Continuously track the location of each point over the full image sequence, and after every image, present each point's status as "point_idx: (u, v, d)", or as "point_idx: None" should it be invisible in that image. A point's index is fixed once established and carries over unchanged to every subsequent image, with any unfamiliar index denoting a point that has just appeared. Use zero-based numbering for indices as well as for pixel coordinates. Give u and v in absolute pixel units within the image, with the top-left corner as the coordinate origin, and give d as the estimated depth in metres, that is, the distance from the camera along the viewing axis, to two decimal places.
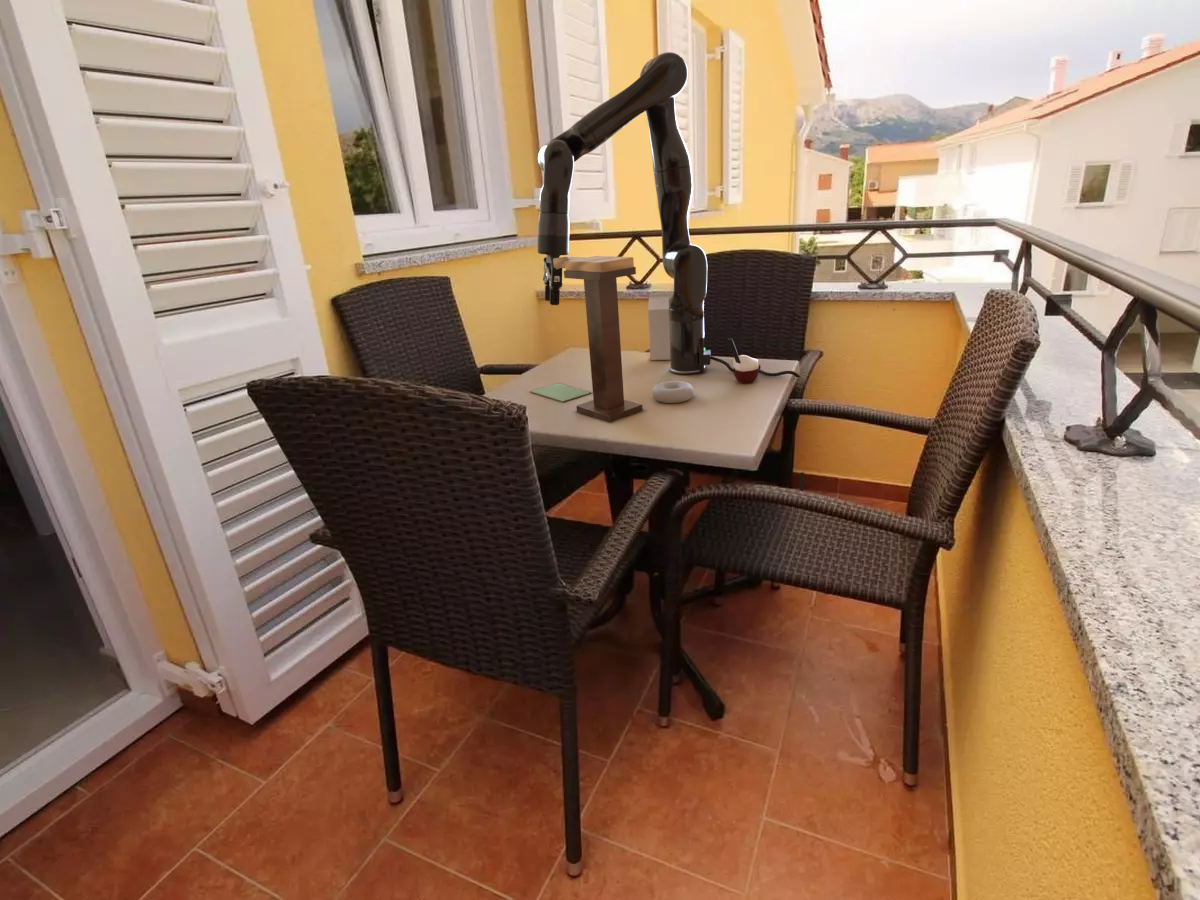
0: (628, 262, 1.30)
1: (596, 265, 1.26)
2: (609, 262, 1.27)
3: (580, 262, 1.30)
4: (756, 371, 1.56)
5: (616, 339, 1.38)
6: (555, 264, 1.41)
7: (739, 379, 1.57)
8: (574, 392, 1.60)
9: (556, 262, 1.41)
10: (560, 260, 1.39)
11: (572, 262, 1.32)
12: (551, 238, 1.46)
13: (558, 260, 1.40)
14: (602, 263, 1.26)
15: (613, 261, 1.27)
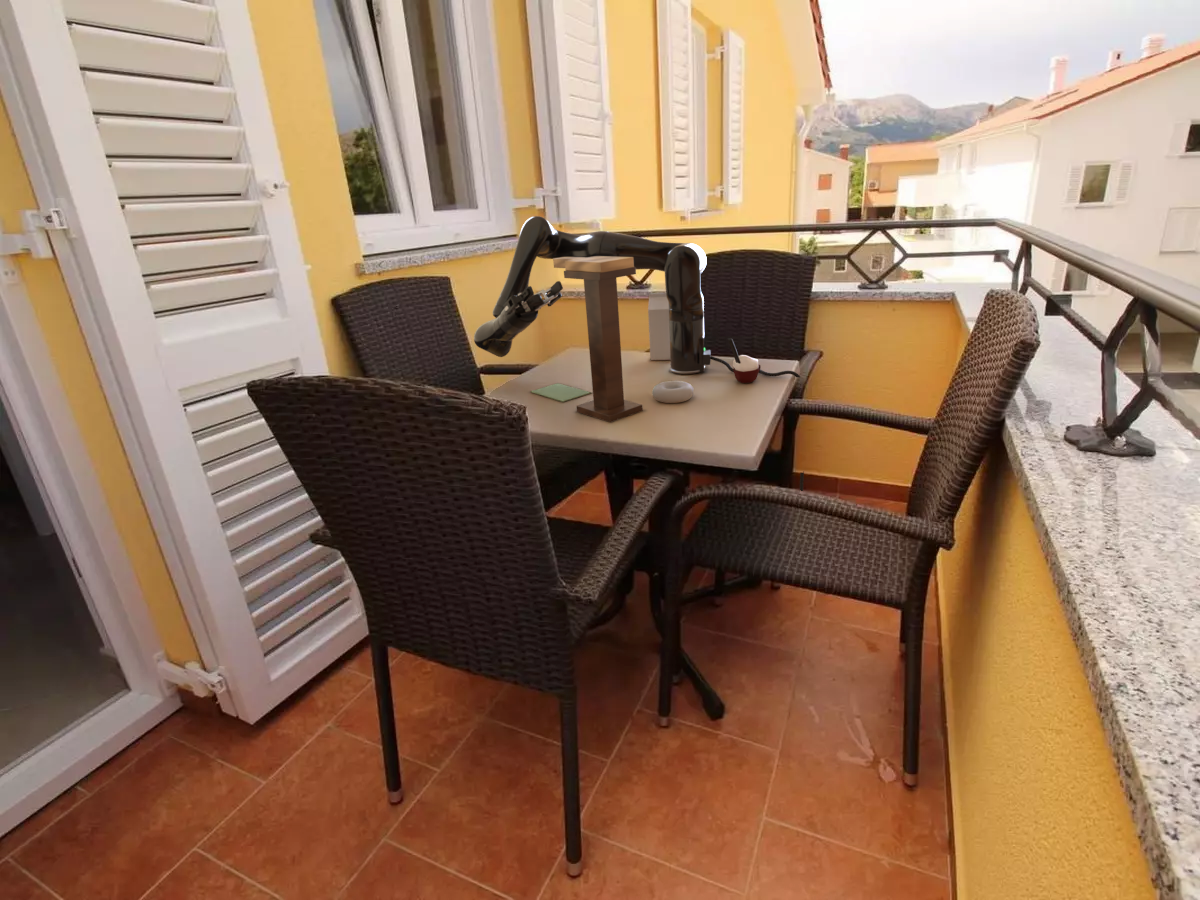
0: (628, 262, 1.30)
1: (596, 265, 1.26)
2: (609, 262, 1.27)
3: (580, 262, 1.30)
4: (756, 371, 1.56)
5: (616, 339, 1.38)
6: (555, 264, 1.41)
7: (739, 379, 1.57)
8: (574, 392, 1.60)
9: (556, 262, 1.41)
10: (560, 260, 1.39)
11: (572, 262, 1.32)
12: (509, 320, 1.60)
13: (558, 260, 1.40)
14: (602, 263, 1.26)
15: (613, 261, 1.27)
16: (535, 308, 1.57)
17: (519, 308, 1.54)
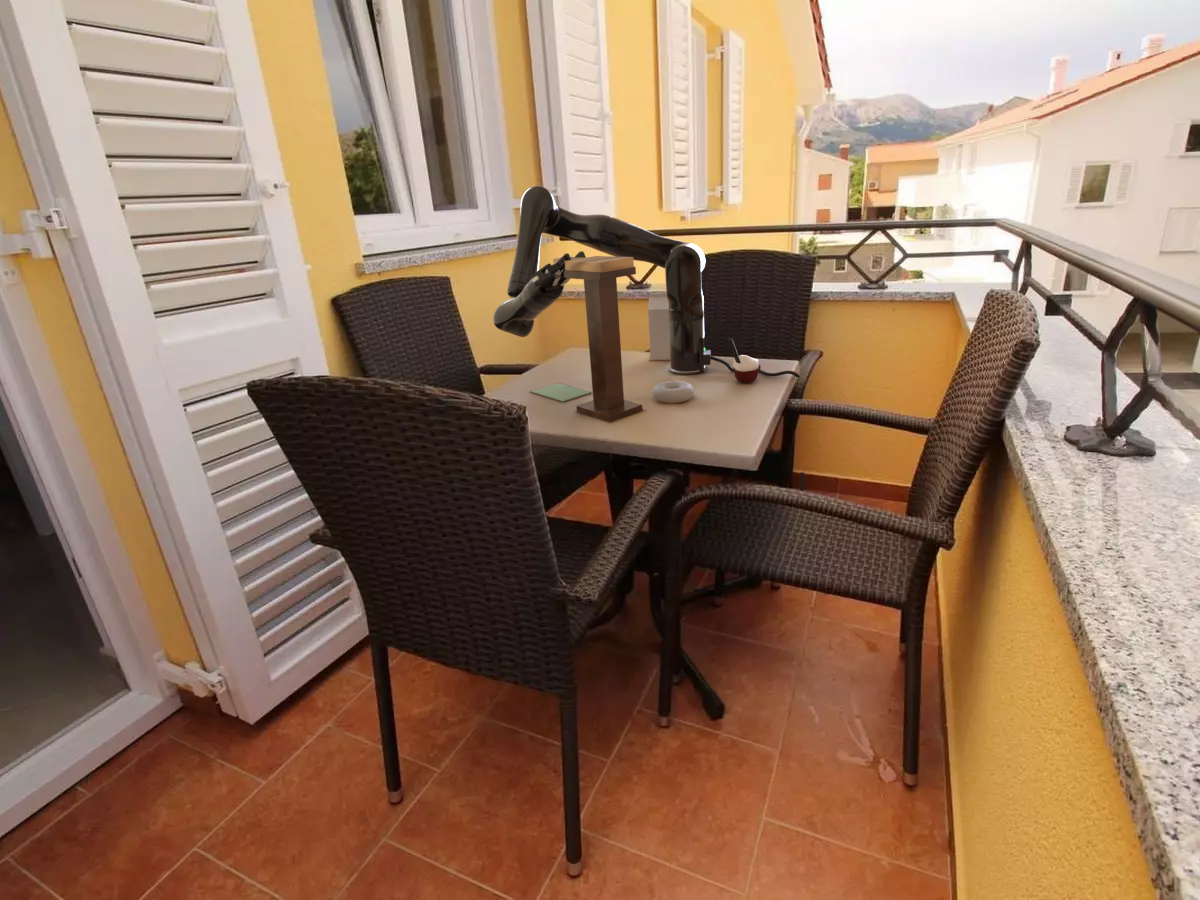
0: (628, 262, 1.30)
1: (596, 265, 1.26)
2: (609, 262, 1.27)
3: (580, 262, 1.30)
4: (756, 371, 1.56)
5: (616, 339, 1.38)
6: None
7: (739, 379, 1.57)
8: (574, 392, 1.60)
9: None
10: None
11: (572, 262, 1.32)
12: (532, 296, 1.49)
13: (558, 260, 1.40)
14: (602, 263, 1.26)
15: (613, 261, 1.27)
16: (561, 282, 1.46)
17: (544, 282, 1.43)
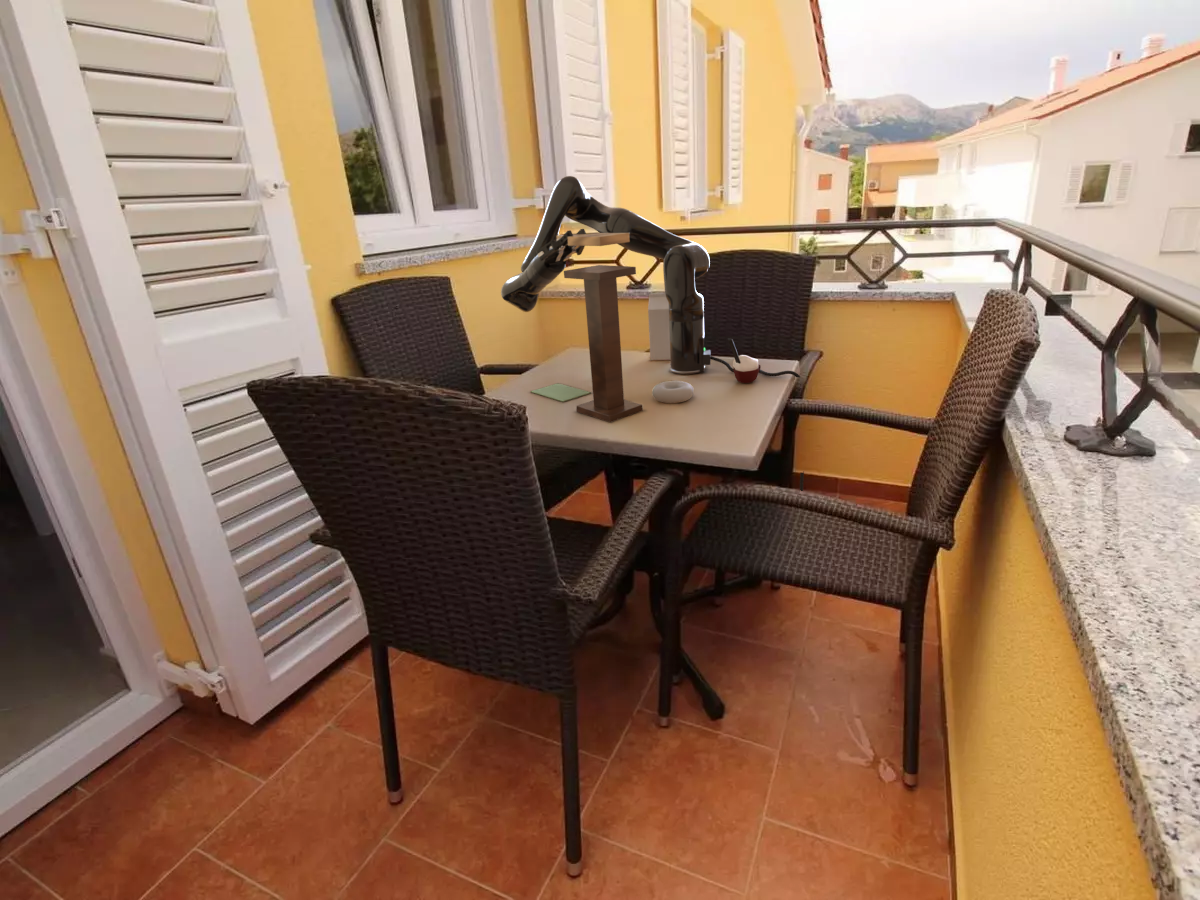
0: (624, 237, 1.45)
1: (596, 239, 1.42)
2: (607, 237, 1.42)
3: (581, 237, 1.45)
4: (756, 371, 1.56)
5: (616, 339, 1.38)
6: None
7: (739, 379, 1.57)
8: (574, 392, 1.60)
9: None
10: None
11: (574, 237, 1.47)
12: (537, 270, 1.64)
13: None
14: (601, 237, 1.41)
15: (611, 236, 1.42)
16: (564, 258, 1.61)
17: (548, 257, 1.58)
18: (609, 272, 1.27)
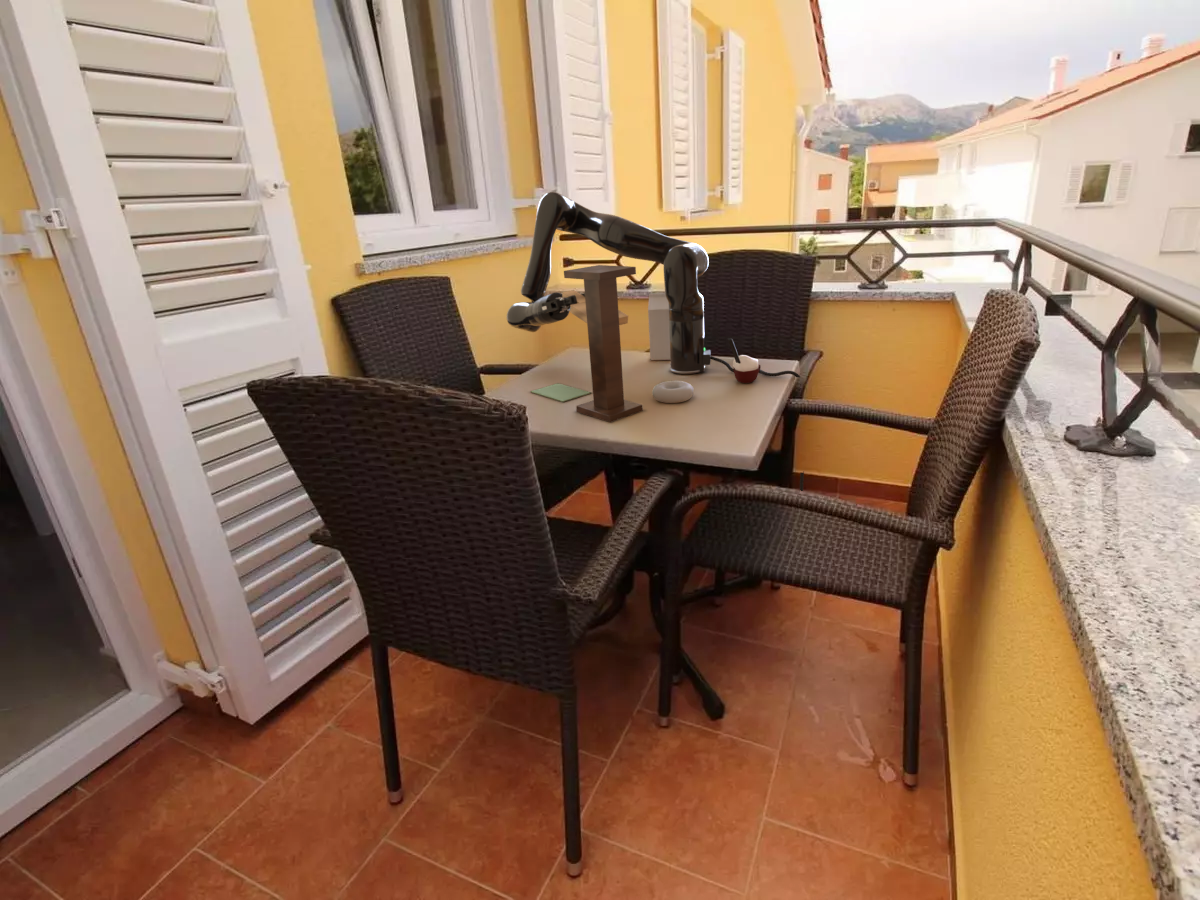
0: (623, 320, 1.51)
1: None
2: None
3: (582, 313, 1.51)
4: (756, 371, 1.56)
5: (616, 339, 1.38)
6: None
7: (739, 379, 1.57)
8: (574, 392, 1.60)
9: (564, 296, 1.61)
10: None
11: (576, 309, 1.53)
12: (541, 314, 1.70)
13: (566, 296, 1.60)
14: None
15: None
16: (567, 309, 1.67)
17: None
18: (609, 272, 1.27)
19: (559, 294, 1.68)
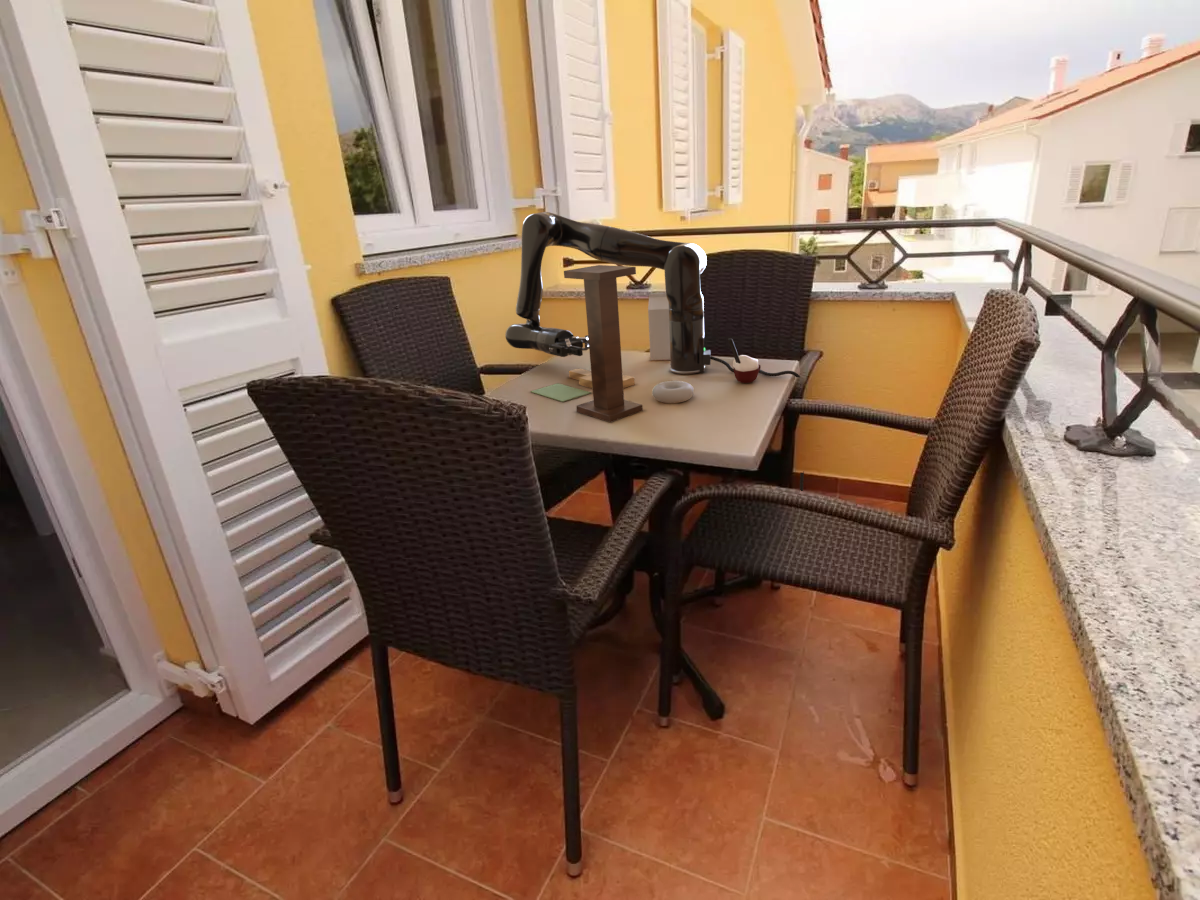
0: (630, 381, 1.62)
1: None
2: None
3: (591, 381, 1.62)
4: (756, 371, 1.56)
5: (616, 339, 1.38)
6: (570, 375, 1.74)
7: (739, 379, 1.57)
8: (574, 392, 1.60)
9: (571, 374, 1.73)
10: (575, 373, 1.72)
11: (585, 380, 1.64)
12: (547, 348, 1.75)
13: (573, 373, 1.72)
14: None
15: None
16: None
17: (561, 350, 1.70)
18: (609, 272, 1.27)
19: (567, 332, 1.74)
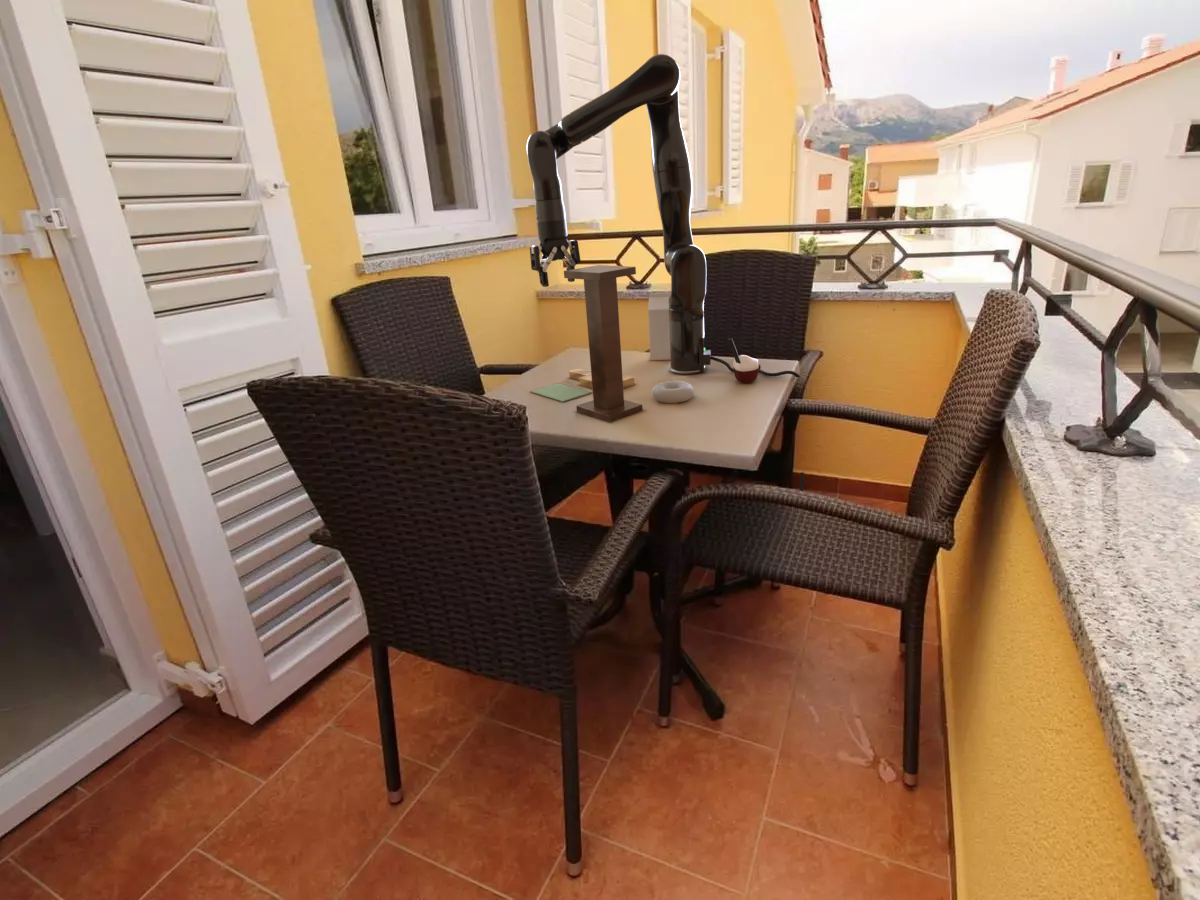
0: (630, 381, 1.62)
1: None
2: None
3: (591, 381, 1.62)
4: (756, 371, 1.56)
5: (616, 339, 1.38)
6: (570, 375, 1.74)
7: (739, 379, 1.57)
8: (574, 392, 1.60)
9: (571, 374, 1.73)
10: (575, 373, 1.72)
11: (585, 380, 1.64)
12: (537, 224, 1.58)
13: (573, 373, 1.72)
14: None
15: None
16: None
17: (541, 251, 1.61)
18: (609, 272, 1.27)
19: (563, 237, 1.59)
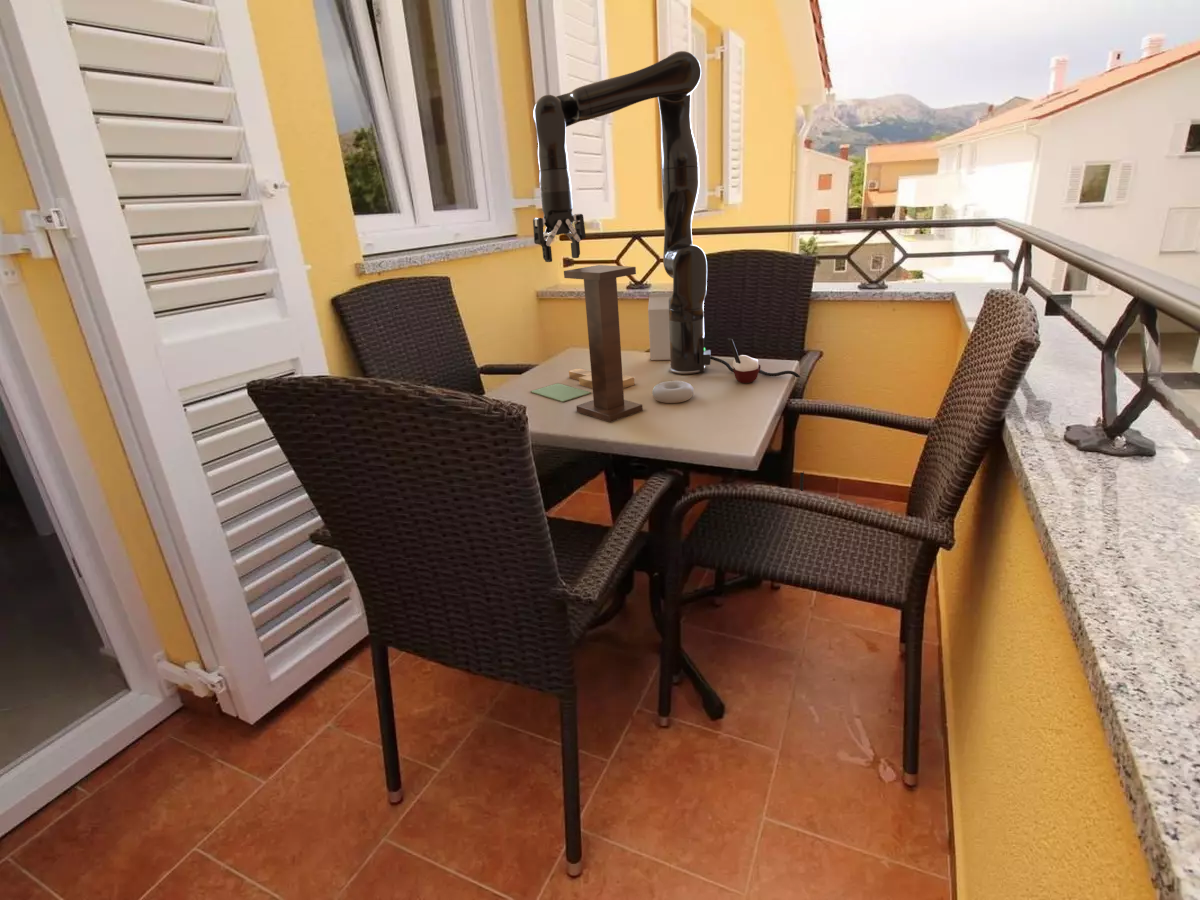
0: (630, 381, 1.62)
1: None
2: None
3: (591, 381, 1.62)
4: (756, 371, 1.56)
5: (616, 339, 1.38)
6: (570, 375, 1.74)
7: (739, 379, 1.57)
8: (574, 392, 1.60)
9: (571, 374, 1.73)
10: (575, 373, 1.72)
11: (585, 380, 1.64)
12: (541, 196, 1.50)
13: (573, 373, 1.72)
14: None
15: None
16: None
17: (545, 224, 1.53)
18: (609, 272, 1.27)
19: (569, 210, 1.52)
